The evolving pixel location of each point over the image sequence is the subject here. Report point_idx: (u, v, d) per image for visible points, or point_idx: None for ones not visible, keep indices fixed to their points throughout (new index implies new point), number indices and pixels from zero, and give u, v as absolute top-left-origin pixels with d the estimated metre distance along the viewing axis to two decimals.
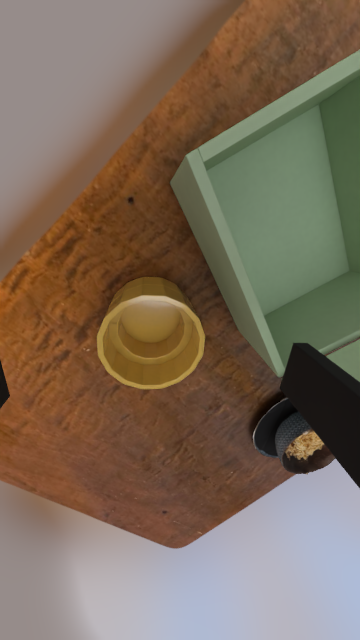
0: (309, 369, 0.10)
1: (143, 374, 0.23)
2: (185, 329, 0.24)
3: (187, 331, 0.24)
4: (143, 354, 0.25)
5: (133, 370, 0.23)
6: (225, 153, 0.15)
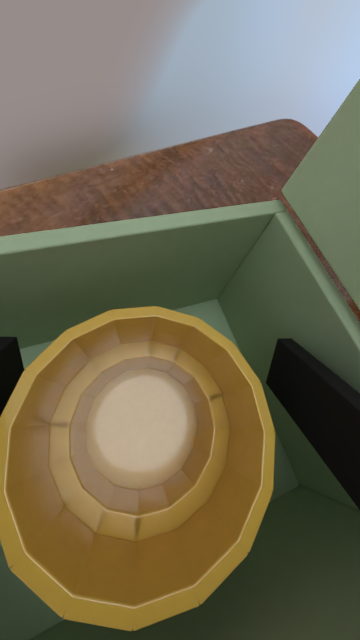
0: (291, 363, 0.10)
1: (240, 472, 0.09)
2: (161, 356, 0.12)
3: (167, 353, 0.12)
4: (203, 458, 0.11)
5: (226, 498, 0.09)
6: None
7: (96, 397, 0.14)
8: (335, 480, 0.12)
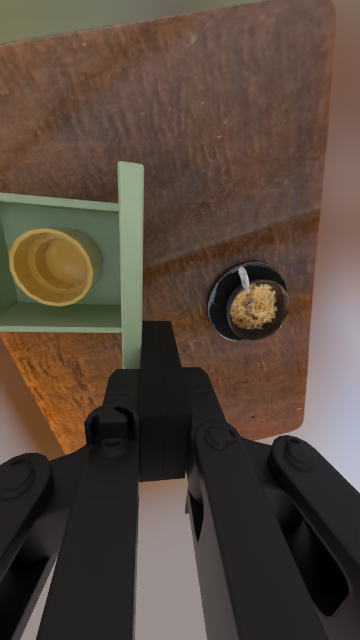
0: None
1: None
2: None
3: None
4: (82, 282, 0.33)
5: (78, 294, 0.31)
6: None
7: (50, 243, 0.33)
8: None
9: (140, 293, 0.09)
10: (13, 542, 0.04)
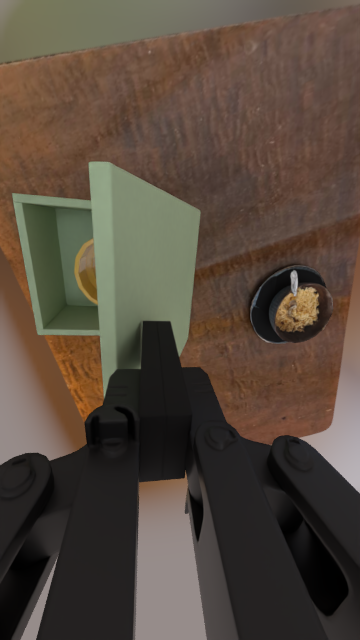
0: None
1: None
2: None
3: None
4: None
5: None
6: (48, 304, 0.30)
7: None
8: None
9: (112, 290, 0.09)
10: (13, 542, 0.04)
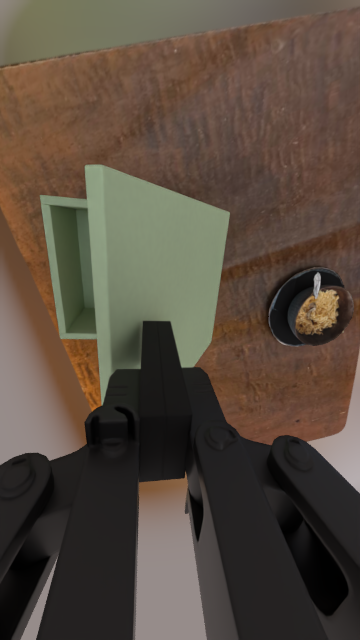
0: None
1: None
2: None
3: None
4: None
5: None
6: (70, 307, 0.29)
7: None
8: None
9: (106, 286, 0.09)
10: (13, 542, 0.04)
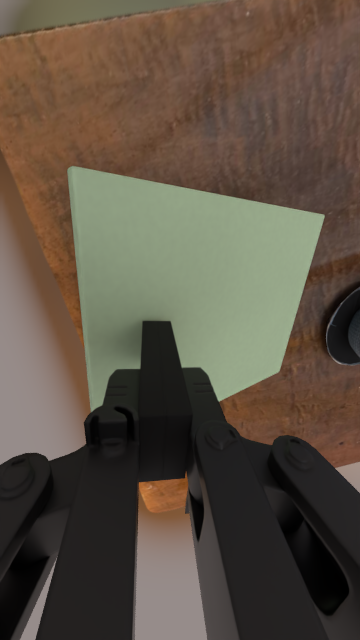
0: None
1: None
2: None
3: None
4: None
5: None
6: None
7: None
8: None
9: (81, 279, 0.10)
10: (13, 542, 0.04)
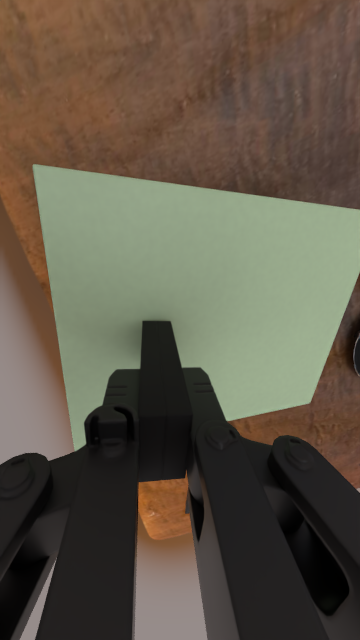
0: None
1: None
2: None
3: None
4: None
5: None
6: None
7: None
8: None
9: None
10: (12, 542, 0.04)
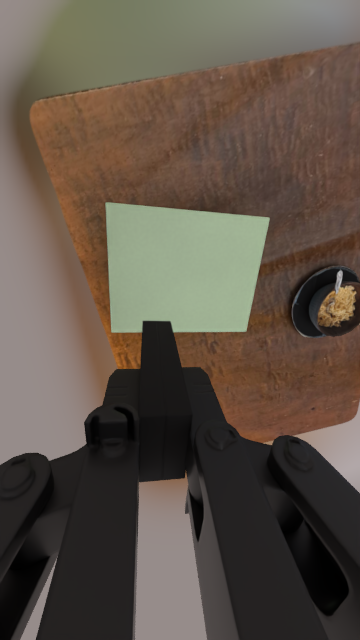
0: None
1: None
2: None
3: None
4: None
5: None
6: None
7: None
8: None
9: (107, 242, 0.26)
10: (13, 542, 0.04)
